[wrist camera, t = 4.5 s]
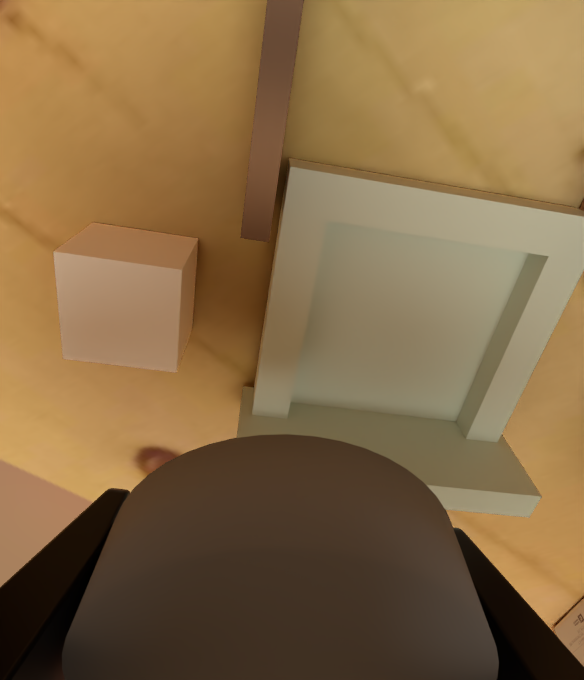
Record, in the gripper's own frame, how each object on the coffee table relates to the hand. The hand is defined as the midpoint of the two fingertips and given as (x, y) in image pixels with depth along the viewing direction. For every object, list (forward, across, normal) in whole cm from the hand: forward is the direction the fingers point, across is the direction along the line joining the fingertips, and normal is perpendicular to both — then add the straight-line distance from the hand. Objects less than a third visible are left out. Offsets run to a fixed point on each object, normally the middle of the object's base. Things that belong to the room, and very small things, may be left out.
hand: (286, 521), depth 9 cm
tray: (+11, -4, -1) cm, 12 cm away
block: (+11, +6, 0) cm, 12 cm away
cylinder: (-1, 0, 0) cm, 1 cm away
